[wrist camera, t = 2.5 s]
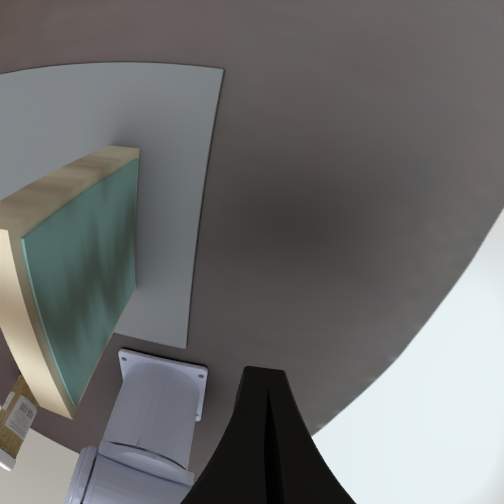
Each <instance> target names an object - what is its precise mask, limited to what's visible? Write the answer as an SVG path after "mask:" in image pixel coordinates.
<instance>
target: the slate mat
mask: <svg viewBox="0 0 504 504" xmlns="http://www.w3.org/2000/svg"><path fill="white" fill-rule="evenodd" d="M223 74H224V69H217V68H209V67H200V66H190V65H178V64H163V63H133V62H116V63H86V64H72V65H60V66H51V67H43V68H35V69H28V70H22V71H16V72H10V73H5V74H0V201H1V200H3V199H4V198H6V197H8V196H9V195H11V194H13V193H15V192H16V191H18V190H20V189H21V188H23V187H25V186H27V185H29V184H30V183H32V182H34V181H36V180H38V179H40V178H41V177H43V176H45V175H47V174H49V173H51V172H53V171H55V170H57V169H59V168H61V167H63V166H65V165H67V164H69V163H71V162H73V161H75V160H77V159H80V158H82V157H84V156H86V155H88V154H91V153H93V152H95V151H97V150H100V149H102V148H104V147H107V146H109V145H113V146H123V147H133V148H140V153H139V165H138V179H137V196H136V222H135V283H136V291H135V292H134V294H133V296H132V298H131V300H130V302H129V303H128V305H127V307H126V309H125V311H124V313H123V315H122V317H121V318H120V320H119V322H118V324H117V326H116V328H115V330H114V332H115V333H118V334H122V335H126V336H130V337H134V338H138V339H142V340H147V341H151V342H155V343H160V344H164V345H169V346H173V347H178V348H183V349H186V346H187V335H188V323H189V312H190V301H191V290H192V281H193V271H194V262H195V253H196V245H197V236H198V228H199V221H200V213H201V206H202V198H203V191H204V184H205V178H206V171H207V164H208V158H209V152H210V146H211V140H212V134H213V128H214V122H215V116H216V111H217V105H218V100H219V95H220V89H221V84H222V79H223Z"/></svg>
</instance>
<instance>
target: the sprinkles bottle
mask: <svg viewBox="0 0 504 504" xmlns="http://www.w3.org/2000/svg"><path fill="white" fill-rule="evenodd" d="M39 406H40V405H39V403H38V402H37V400H36V398H35V397H34V395H33V393H32V391H31V390H30V388H29V386H28V384H27V382H26V380H25V378H24V377H23V375H22V374H20V375H19V377H18V380H17V382H16V384H15V385H14V387H13V389H12V391H11V392H10V394H9V395H8V397H7V399H6V401H5V403H4V405H3V407H2V409H1V411H0V466H1V467H3V468H5V469H7V470H8V471H12V469H13V467H14V465H15V463H16V460H15V459H16V456H17V454H18V451H19V449H20V447H21V445H22V442H23V441H24V439H25V437H26V434H27V432H28V430H29V428H30V426H31V424H32V422H33V419H34V417H35V415H36V413H37V410H38V408H39Z"/></svg>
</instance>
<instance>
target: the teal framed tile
mask: <svg viewBox="0 0 504 504" xmlns="http://www.w3.org/2000/svg"><path fill="white" fill-rule="evenodd" d="M139 153H140V148H133V147H123V146H113V145H109V146H107V147H104V148H102V149H100V150H97V151H95V152H93V153H91V154H88V155H86V156H84V157H82V158H80V159H77V160H75V161H73V162H71V163H69V164H67V165H65V166H63V167H61V168H59V169H57V170H55V171H53V172H51V173H49V174H47V175H45V176H43V177H41V178H40V179H38V180H36V181H34V182H32V183H30V184H29V185H27V186H25V187H23V188H21V189H20V190H18V191H16V192H15V193H13V194H11V195H9V196H8V197H6V198H4V199H3V200H1V201H0V327H1V329H2V332H3V334H4V336H5V339H6V341H7V343H8V346H9V348H10V350H11V352H12V354H13V356H14V359H15V361H16V363H17V365H18V367H19V369H20V371H21V373H22V375H23V377H24V378H25V380H26V382H27V384H28V386H29V388H30V390H31V391H32V393H33V395H34V397H35V398H36V400H37V402H38V403H39V405H40V406H41V407H43V408H46V409H48V410H50V411H52V412H55V413H57V414H60V415H62V416H65V417H67V418H70V419H72V420H73V418H74V415H75V413H76V411H77V408H78V406H79V404H80V401H81V399H82V397H83V395H84V392H85V390H86V388H87V386H88V384H89V381H90V379H91V377H92V375H93V373H94V371H95V369H96V366H97V364H98V362H99V360H100V358H101V356H102V354H103V352H104V350H105V348H106V346H107V344H108V342H109V340H110V338H111V336H112V334H113V332H114V330H115V328H116V326H117V324H118V322H119V320H120V318H121V317H122V315H123V313H124V311H125V309H126V307H127V305H128V303H129V302H130V300H131V298H132V296H133V294H134V292H135V291H136V283H135V222H136V196H137V179H138V165H139Z"/></svg>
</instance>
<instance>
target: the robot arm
mask: <svg viewBox="0 0 504 504" xmlns="http://www.w3.org/2000/svg"><path fill="white" fill-rule="evenodd" d="M119 360H120V366H121V371H122V376H123V384H122V386H121V389H120V391H119V394H118V397H117V399H116V402H115V405H114V408H113V410H112V413H111V416H110V419H109V422H108V424H107V427H106V430H105V433H104V436H103V439H102V441H101V443H100V445H99V447H98V449H97V451H96V448H95V447H93V446H88V448H87V447H86V448H83V449H82V450H81V453H80V455H79V458H78V461H77V464H76V467H75V470H74V473H73V476H72V479H71V482H70V485H69V488H68V492H67V495H66V498H65V502H64V504H356V503H355V502H354V500H353V499H352V498H351V497H350V496H349V494H348V493H347V492H346V491H345V490H344V488H343V487H342V486H341V485H340V483H339V482H338V480H337V479H336V478H335V476H334V475H333V473H332V472H331V470H330V469H329V467H328V466H327V464H326V463H325V461H324V459H323V458H322V456H321V454H320V453H319V451H318V449H317V448H316V445H315V443H314V442H313V440H312V438H311V436H310V434H309V432H308V430H307V428H306V425H305V423H304V421H303V419H302V416H301V414H300V412H299V409H298V407H297V405H296V402H295V399H294V397H293V394H292V391H291V389H290V386H289V383H288V379H287V376H286V373H285V372H284V370H277V369H269V368H261V367H254V366H246V367H244V370H243V374H242V377H241V381H240V384H239V388H238V391H237V395H236V400H235V406H234V411H233V415H232V417H231V420H230V422H229V424H228V426H227V428H226V430H225V433H224V435H223V437H222V439H221V441H220V443H219V445H218V447H217V448H216V450H215V452H214V454H213V456H212V457H211V459H210V461H209V462H208V464H207V466H206V467H205V469H204V471H203V472H202V474H201V475H200V477H199V478H198V480H197V481H196V483H193V479H194V473H192V472H189V471H187V469H188V463H189V456H190V450H191V444H192V438H193V432H194V426H195V421H200V420H201V414H202V407H203V400H204V393H205V386H206V380H207V373H208V370H207V368H205V367H203V366H198V365H193V364H188V363H183V362H178V361H173V360H168V359H164V358H159V357H155V356H151V355H146V354H142V353H138V352H134V351H130V350H126V349H120V350H119Z"/></svg>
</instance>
